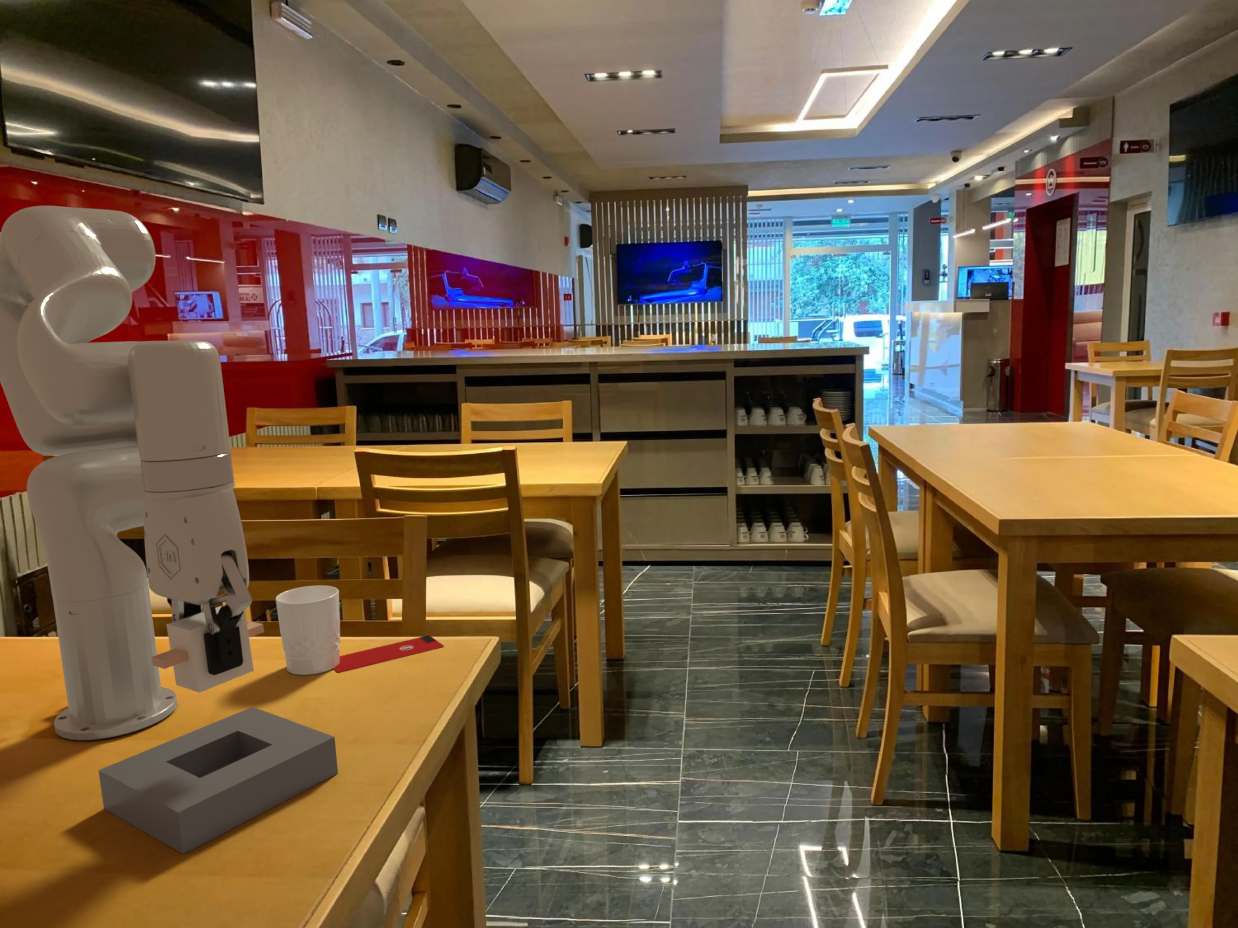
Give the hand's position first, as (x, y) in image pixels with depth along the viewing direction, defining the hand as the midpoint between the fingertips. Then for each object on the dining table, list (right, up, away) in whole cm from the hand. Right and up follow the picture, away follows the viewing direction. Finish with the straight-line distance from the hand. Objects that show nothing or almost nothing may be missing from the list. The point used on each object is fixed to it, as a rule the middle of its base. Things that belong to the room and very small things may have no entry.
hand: (212, 663), depth 83 cm
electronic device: (+6, -8, +38) cm, 39 cm away
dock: (0, -13, +2) cm, 13 cm away
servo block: (0, -1, 0) cm, 2 cm away
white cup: (-2, -8, +34) cm, 35 cm away
